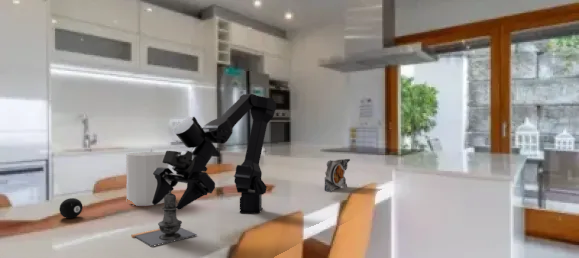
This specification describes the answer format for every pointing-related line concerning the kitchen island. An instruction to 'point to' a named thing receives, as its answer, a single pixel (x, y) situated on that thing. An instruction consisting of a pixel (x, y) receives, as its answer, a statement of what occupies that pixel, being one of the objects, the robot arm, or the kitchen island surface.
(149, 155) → the container
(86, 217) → the kitchen island surface
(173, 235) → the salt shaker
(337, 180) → the grey square flange bearing
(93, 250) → the kitchen island surface
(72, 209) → the billiard ball
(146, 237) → the dough scraper
